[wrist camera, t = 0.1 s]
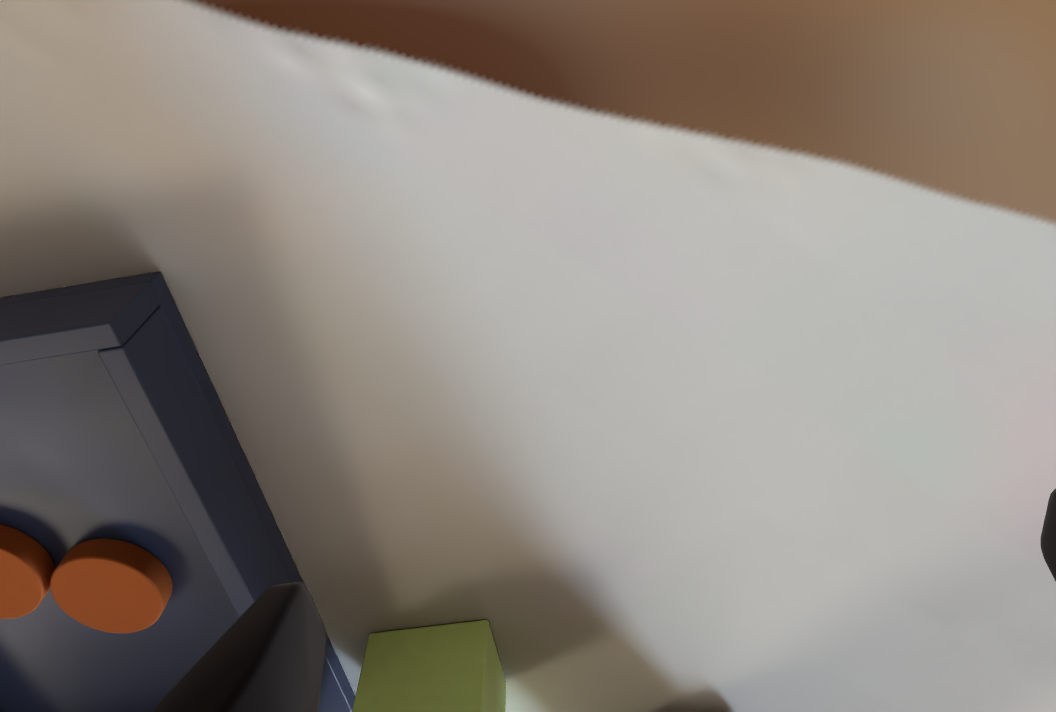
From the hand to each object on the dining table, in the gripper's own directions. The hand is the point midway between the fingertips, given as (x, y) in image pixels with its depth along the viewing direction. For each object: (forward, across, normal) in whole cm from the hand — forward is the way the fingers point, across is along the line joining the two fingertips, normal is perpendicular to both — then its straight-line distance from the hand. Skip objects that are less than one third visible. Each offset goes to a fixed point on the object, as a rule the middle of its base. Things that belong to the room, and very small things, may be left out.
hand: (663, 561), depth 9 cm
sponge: (+15, +9, +19) cm, 26 cm away
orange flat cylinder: (+14, +20, +12) cm, 27 cm away
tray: (+15, +21, +11) cm, 28 cm away
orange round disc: (+14, +24, +10) cm, 29 cm away
